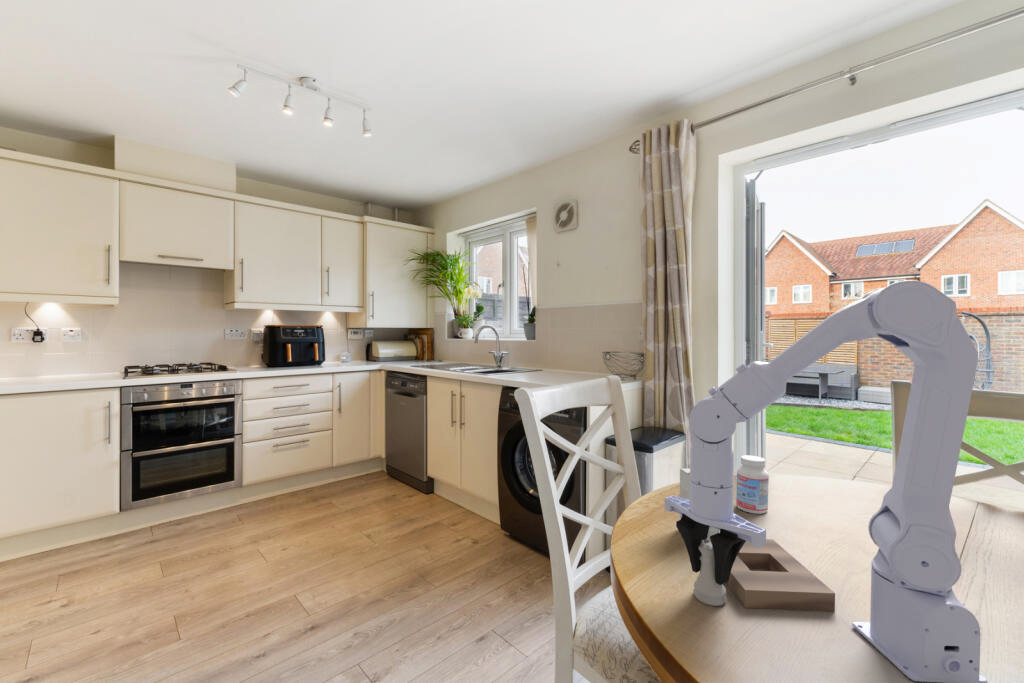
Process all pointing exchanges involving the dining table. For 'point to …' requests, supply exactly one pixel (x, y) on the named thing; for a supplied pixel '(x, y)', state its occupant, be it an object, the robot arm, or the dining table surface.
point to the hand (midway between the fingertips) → (710, 575)
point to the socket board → (776, 581)
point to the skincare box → (686, 494)
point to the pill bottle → (752, 485)
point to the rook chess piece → (708, 578)
